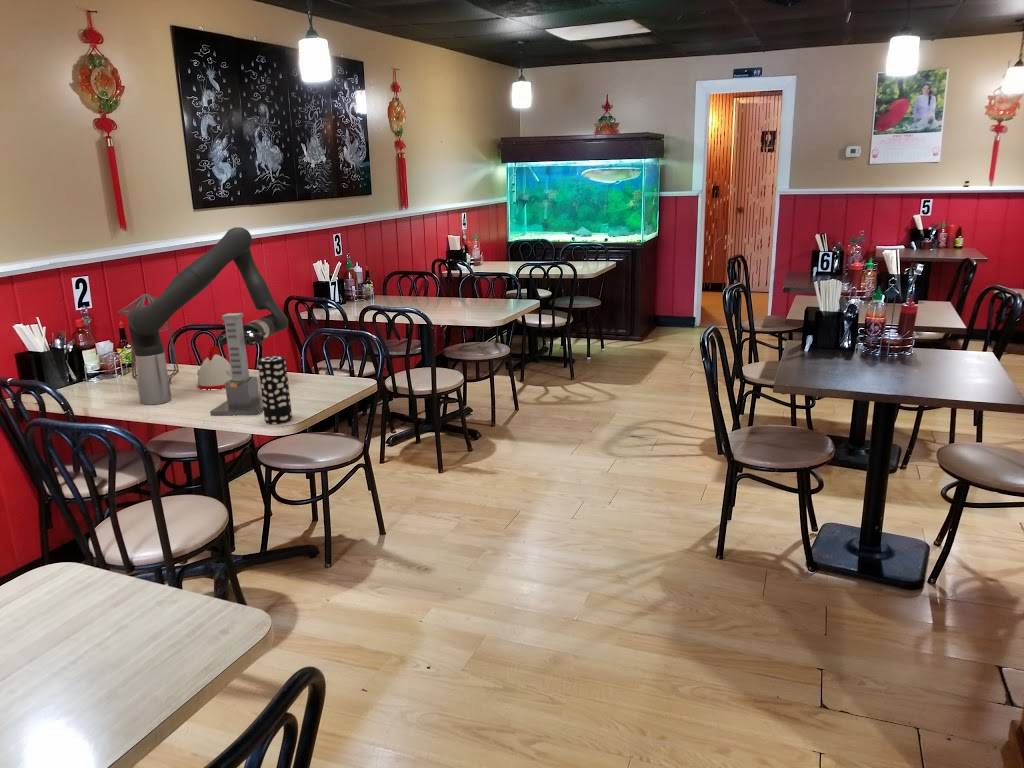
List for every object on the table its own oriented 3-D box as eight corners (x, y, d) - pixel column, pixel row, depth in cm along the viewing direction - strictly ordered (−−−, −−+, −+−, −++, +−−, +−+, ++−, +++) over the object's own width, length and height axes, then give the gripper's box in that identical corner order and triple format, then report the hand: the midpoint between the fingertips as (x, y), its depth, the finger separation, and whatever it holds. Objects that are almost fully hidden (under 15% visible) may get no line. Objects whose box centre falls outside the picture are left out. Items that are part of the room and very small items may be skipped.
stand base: (210, 415, 248) (206, 386, 245) (232, 401, 263) (228, 373, 260) (257, 415, 246) (254, 385, 243) (277, 401, 261) (273, 373, 259)
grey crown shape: (243, 380, 292) (238, 342, 288) (227, 390, 278) (222, 350, 275) (208, 380, 293) (203, 342, 289) (191, 390, 280) (185, 350, 276)
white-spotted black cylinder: (270, 416, 244) (262, 356, 239) (295, 416, 244) (288, 355, 239) (261, 424, 236) (253, 362, 231) (287, 424, 236) (280, 361, 231)
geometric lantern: (147, 381, 296) (135, 291, 287) (187, 381, 295) (176, 291, 286) (126, 391, 280) (112, 297, 272) (168, 391, 280) (156, 297, 271)
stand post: (230, 385, 250) (221, 315, 244) (237, 381, 255) (227, 313, 249) (246, 385, 250) (236, 315, 244) (251, 381, 254) (243, 313, 248)
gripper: (233, 322, 262) (210, 331, 246) (272, 321, 261) (253, 330, 245) (235, 343, 264) (213, 354, 248) (275, 342, 262) (255, 353, 247)
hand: (233, 342), depth 247 cm, fingers open, 8 cm apart
